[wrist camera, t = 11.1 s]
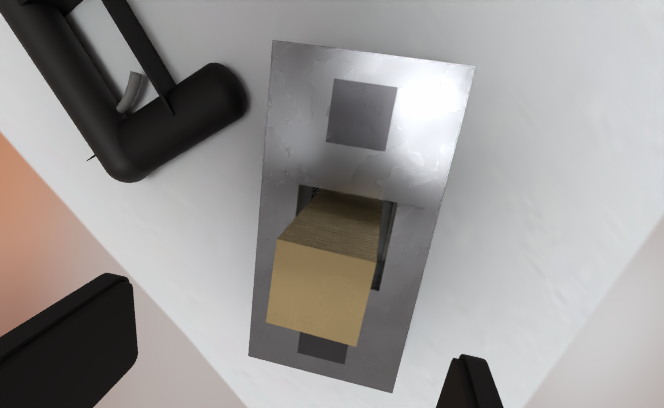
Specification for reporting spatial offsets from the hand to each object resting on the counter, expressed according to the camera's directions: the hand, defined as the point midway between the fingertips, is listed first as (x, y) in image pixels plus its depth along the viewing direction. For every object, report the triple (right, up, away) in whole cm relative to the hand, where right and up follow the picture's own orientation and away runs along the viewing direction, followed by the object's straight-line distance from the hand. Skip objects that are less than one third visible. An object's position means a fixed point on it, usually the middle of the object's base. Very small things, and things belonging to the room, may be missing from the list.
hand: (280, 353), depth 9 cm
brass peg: (+3, +3, +14) cm, 14 cm away
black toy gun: (-12, +17, +13) cm, 25 cm away
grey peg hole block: (+3, +3, +13) cm, 14 cm away
